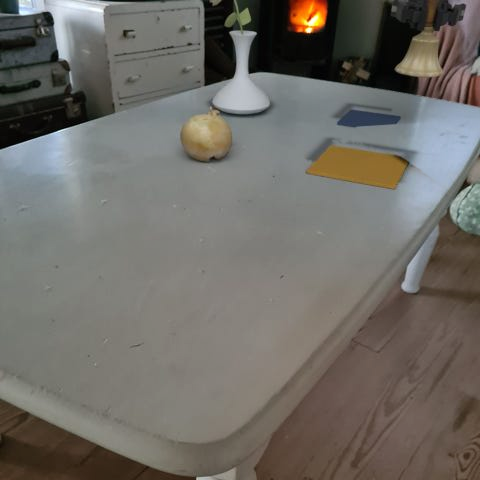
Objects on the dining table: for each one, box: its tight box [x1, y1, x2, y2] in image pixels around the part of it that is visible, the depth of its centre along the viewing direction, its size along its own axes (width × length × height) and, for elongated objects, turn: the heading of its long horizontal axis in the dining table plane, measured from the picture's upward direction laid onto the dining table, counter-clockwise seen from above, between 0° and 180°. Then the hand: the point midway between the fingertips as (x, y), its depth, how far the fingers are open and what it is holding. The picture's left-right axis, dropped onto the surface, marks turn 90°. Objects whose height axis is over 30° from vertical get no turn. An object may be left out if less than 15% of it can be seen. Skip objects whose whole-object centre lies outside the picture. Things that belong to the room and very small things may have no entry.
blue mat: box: [336, 108, 401, 128], centre depth 99 cm, size 10×10×1 cm
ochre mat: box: [306, 144, 410, 190], centre depth 79 cm, size 13×13×1 cm
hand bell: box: [394, 0, 444, 78], centre depth 87 cm, size 8×8×16 cm
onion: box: [179, 105, 233, 163], centre depth 79 cm, size 8×8×7 cm
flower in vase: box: [209, 0, 271, 115], centre depth 95 cm, size 13×11×25 cm
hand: (431, 21), depth 82 cm, fingers closed on hand bell, 2 cm apart
